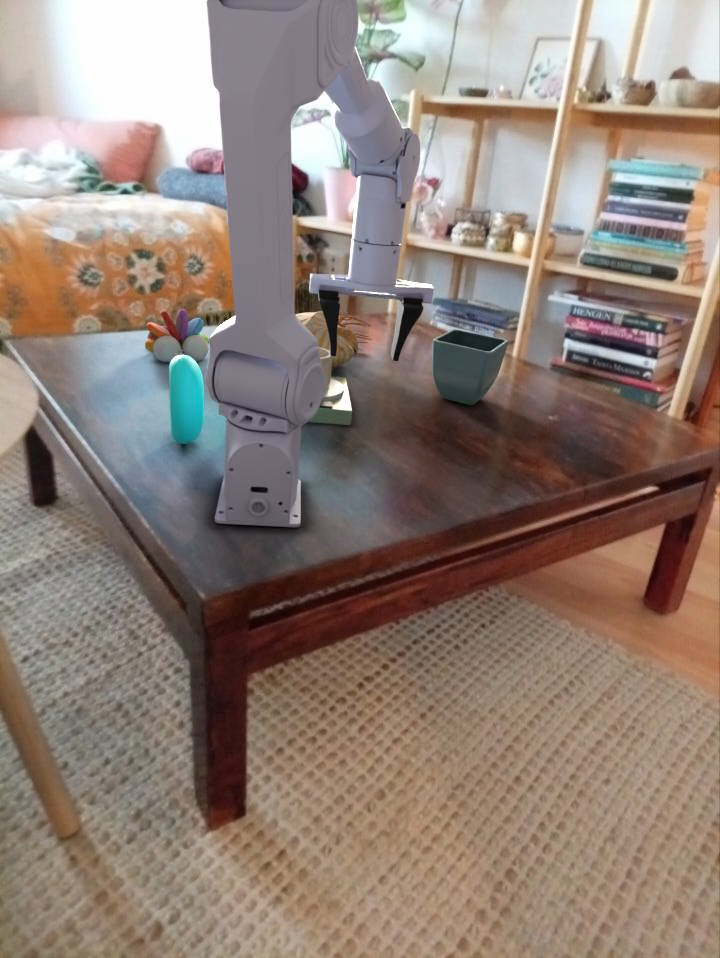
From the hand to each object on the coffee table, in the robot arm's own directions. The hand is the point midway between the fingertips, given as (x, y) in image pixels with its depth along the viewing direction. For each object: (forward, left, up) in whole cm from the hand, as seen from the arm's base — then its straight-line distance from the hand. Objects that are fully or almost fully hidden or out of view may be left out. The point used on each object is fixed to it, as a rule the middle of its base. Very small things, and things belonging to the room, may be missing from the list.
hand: (363, 356), depth 87 cm
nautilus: (+27, +2, -10) cm, 29 cm away
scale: (+7, +6, -9) cm, 13 cm away
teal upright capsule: (-7, +17, -10) cm, 21 cm away
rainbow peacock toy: (+24, +26, -10) cm, 37 cm away
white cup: (+7, +6, -7) cm, 12 cm away
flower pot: (+14, -17, -10) cm, 24 cm away
